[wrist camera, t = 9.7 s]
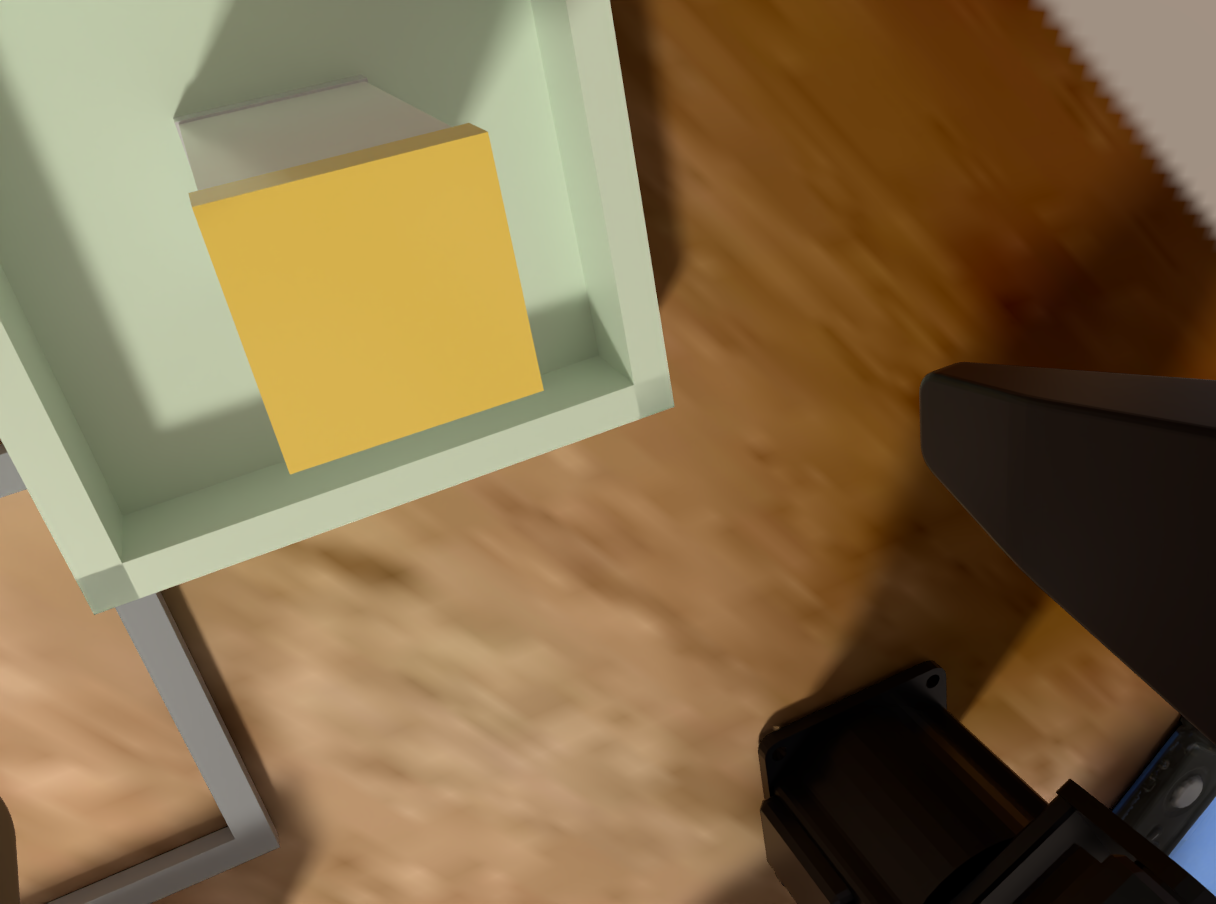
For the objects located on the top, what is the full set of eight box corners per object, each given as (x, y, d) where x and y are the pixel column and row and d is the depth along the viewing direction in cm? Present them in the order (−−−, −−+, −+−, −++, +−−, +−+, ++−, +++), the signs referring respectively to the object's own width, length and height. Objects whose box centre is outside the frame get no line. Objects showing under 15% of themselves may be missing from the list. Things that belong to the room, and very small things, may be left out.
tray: (517, -236, 18) (567, -262, 16) (626, 367, 24) (673, 406, 22) (-238, -109, 15) (-298, -121, 13) (98, 548, 21) (94, 614, 19)
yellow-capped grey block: (362, 70, 18) (487, 132, 12) (410, 251, 20) (543, 390, 14) (168, 115, 18) (191, 207, 11) (236, 300, 19) (289, 474, 13)
